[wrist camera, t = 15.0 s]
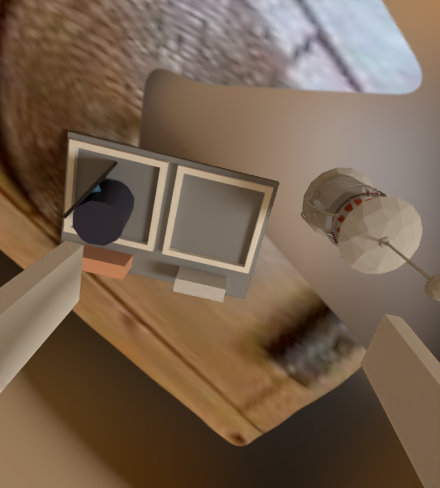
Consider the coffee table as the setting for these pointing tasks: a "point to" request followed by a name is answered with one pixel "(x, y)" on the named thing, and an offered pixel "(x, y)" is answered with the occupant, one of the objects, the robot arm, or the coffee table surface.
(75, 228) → the speaker
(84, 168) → the dock board
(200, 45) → the coffee table surface
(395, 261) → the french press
